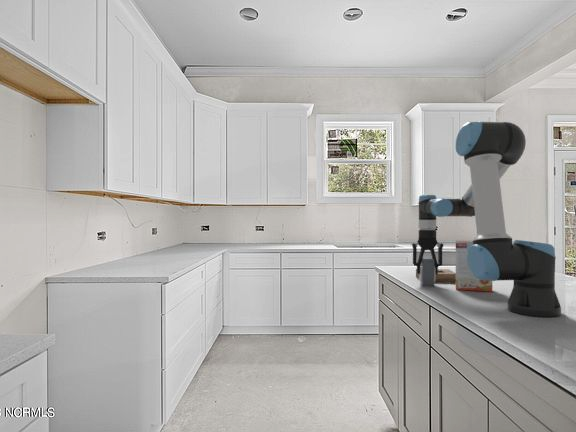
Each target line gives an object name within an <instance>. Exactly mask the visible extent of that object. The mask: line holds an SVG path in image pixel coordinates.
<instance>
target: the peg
mask: <svg viewBox="0 0 576 432" xmlns="http://www.w3.org/2000/svg"><path fill="white" fill-rule="evenodd" d="M420 266H421V267H422V282H421V281H419V282H420V283H419V284H420V285H421V286H423V287H435V282H434V259H433V258H432V257H423V258H422V262H421V265H420Z"/></svg>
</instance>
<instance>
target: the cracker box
mask: <svg viewBox="0 0 576 432" xmlns="http://www.w3.org/2000/svg"><path fill="white" fill-rule="evenodd" d="M473 240H474V239H472V240H471V239H456V240H455V273H456V283H455V289H456V291H457V290H458V291H473V292H477V291H478V292H486V293H487V292H488V293H493V281H489V280H480V279H478V278H477V277H475V276H474V274H473V273H472V272H471V270H470V268H469V266H468V263H467V253H468V249H469V247H470V246H472V245H473Z"/></svg>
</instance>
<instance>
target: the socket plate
mask: <svg viewBox="0 0 576 432" xmlns="http://www.w3.org/2000/svg"><path fill="white" fill-rule="evenodd" d="M415 277H416V278H417V279H418V280H419V274H418V273H417V268H415ZM435 283H438V284H439V283H442V284H443V283H445V284H446V283H447V284H456V271H453V270H450V268H449V269H448V268H447V269H444V268H443V269H442V268H438V274H435V282H434V284H435Z"/></svg>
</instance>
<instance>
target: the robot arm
mask: <svg viewBox="0 0 576 432" xmlns="http://www.w3.org/2000/svg"><path fill="white" fill-rule="evenodd" d="M526 143H527V142H526V136H525V134H524V131H523V130H522V129H521V127H520V126H518V125H516V124H515V123H513V122H509V121H508V122H507V121H502V122H501V121H481V120H478V121H469V122H466V123H465V124H463V125H462V126H461V128H460V129H459V131H458V134H457V136H456V139H455V153H457V155H458V156H460V157H463V161H464V162H463V163H464V164H465V165H466V166H468V167H469V170H470V171H469V172H470V173H469V174H470V181H471V182H470V183H471V184H470V185H469V187H468V189H467V190H466V192H465V193H464V195H463V196H461V198H443V197H442V198H441V197H438V198H437V196H436V195H435V194H421V195H419V197H418V229H419V230H418V239H417V241H416V242H411V246H412V265H414V266H416V269H417V273H418V274H419V279H418V280H419V282H420V281H421V282H422V267H421V266H420V265H421V262H422V258H424V254H425V251H429V252H430V255H431V258H433V259H434V283H435V274H438V269H439V268H438V267H440V266H443V248H444V243H442V242H441V243H440V242H438V240H437V230H436V229H437V217H440V218H441V217H442V218H443V217H467V218H468V217H469V218H470V217H475V218H474V219H475V226H476V235H475V237H474V238H473V239H472V240H473V245H472V246H470V247H469V249H468V253H467V263H468V266H469V268H470V270H471V272H472V273H473V274H474V276H475V277H477V278H478V279H480V280H489V281H492V282H497V281H513V286H512V289H511V293H510V295H509V298H508V300H507V310H508V311H509V312H513V313H515V314H520V315H526V316H531V317H543V318H548V317H549V318H550V317H551V318H552V317H559V316H561V315H562V306H561V304H560V301H559V298H558V295H557V292H556V285H555V284H556V283H555V281H556V279H555V278H556V274H555V273H556V259H557V258H556V257H557V256H556V253H555V250H556V249H555V247H554V246H553V245H552V244H550V243H545V242H537V241H528V240H520V239H519V240H518V239H515V240H514V241H513V237H512V236H510V235H509V234H508V233H507V231H506V230H507V229H506V223H505V214H504V206H503V197H502V189H501V181H500V180H501V178H502V177H503V176H504V174H505V173H506V172H507V171H508V170H509V168H510V167H511V166H515V164H517V163H518V161H519V160H520V159H521V157H522V156H523V154H524V151H525V149H526ZM418 246H419V247H420V251H419V255H417V252H418V251H417V250H418V249H417V248H418ZM436 247H437V255H438V256H437V257H436V253H435V249H434V248H436ZM417 256H418V260H417Z"/></svg>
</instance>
